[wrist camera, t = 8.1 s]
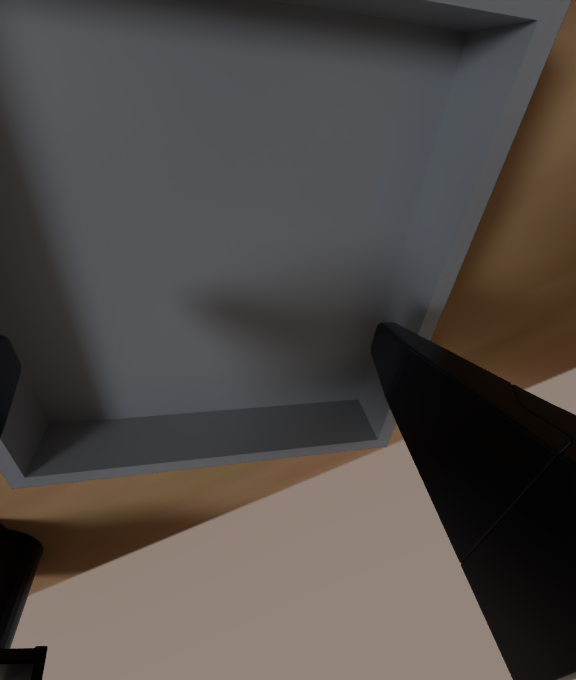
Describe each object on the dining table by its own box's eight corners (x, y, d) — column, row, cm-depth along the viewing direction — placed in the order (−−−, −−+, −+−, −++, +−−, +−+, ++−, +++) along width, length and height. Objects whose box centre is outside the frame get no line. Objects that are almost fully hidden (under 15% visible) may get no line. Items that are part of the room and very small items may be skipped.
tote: (360, 392, 19) (386, 446, 16) (45, 416, 16) (12, 488, 13) (473, 10, 10) (577, -15, 7) (-206, -110, 7) (-488, -238, 4)
